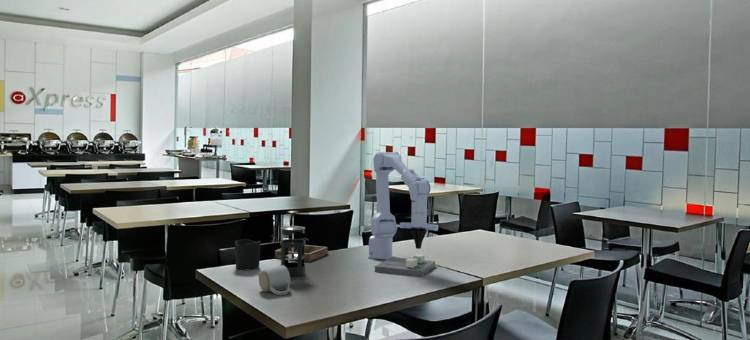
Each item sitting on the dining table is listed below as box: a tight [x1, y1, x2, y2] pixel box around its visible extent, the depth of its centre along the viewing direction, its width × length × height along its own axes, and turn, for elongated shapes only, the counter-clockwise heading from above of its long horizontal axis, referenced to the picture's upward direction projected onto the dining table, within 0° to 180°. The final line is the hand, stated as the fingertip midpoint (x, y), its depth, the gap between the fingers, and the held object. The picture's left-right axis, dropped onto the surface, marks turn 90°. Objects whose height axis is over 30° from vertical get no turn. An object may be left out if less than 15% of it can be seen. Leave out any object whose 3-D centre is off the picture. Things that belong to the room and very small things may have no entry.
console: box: [374, 256, 436, 278], centre depth 212 cm, size 18×18×2 cm
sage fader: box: [413, 253, 426, 263], centre depth 214 cm, size 3×4×2 cm, turn 158°
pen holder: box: [234, 239, 261, 271], centre depth 211 cm, size 9×9×10 cm
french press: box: [279, 210, 307, 278], centre depth 202 cm, size 12×9×23 cm
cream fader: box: [406, 257, 417, 268], centre depth 207 cm, size 3×4×2 cm, turn 158°
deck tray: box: [274, 244, 329, 262], centre depth 233 cm, size 16×16×3 cm
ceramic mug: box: [258, 265, 291, 296], centre depth 179 cm, size 11×8×8 cm
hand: (418, 248), depth 209 cm, fingers closed
